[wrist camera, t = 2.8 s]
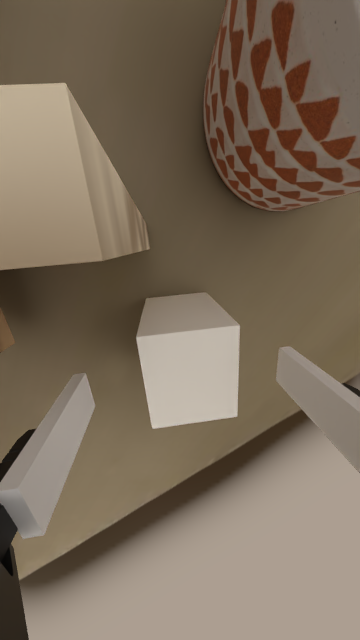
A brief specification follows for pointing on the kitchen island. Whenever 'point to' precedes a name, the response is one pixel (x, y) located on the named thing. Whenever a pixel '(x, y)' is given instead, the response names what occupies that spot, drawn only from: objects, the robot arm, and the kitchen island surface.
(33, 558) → the kitchen island surface
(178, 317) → the cabinet
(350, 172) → the planter
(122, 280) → the kitchen island surface
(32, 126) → the wooden board
